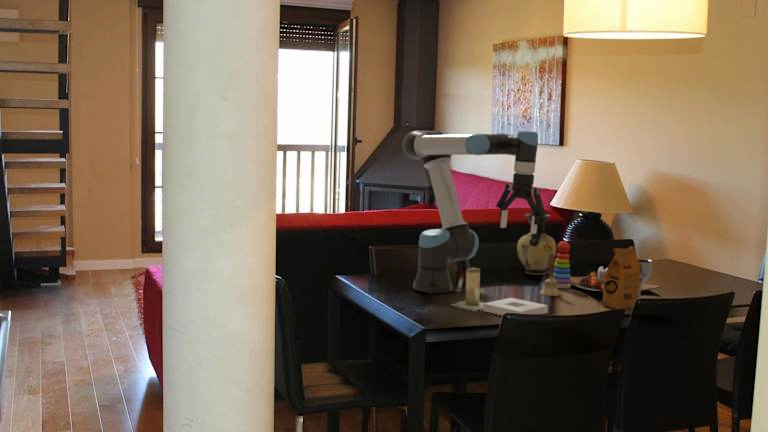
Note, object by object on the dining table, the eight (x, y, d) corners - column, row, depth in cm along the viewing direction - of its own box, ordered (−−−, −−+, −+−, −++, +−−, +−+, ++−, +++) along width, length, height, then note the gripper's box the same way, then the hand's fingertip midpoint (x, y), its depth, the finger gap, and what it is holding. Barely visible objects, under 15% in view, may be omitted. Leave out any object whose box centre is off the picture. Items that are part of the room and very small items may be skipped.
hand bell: (548, 296, 336) (550, 255, 334) (535, 292, 343) (537, 252, 341) (565, 295, 340) (567, 254, 338) (552, 291, 347) (554, 251, 345)
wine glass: (646, 302, 331) (649, 263, 330) (625, 299, 336) (628, 260, 334) (652, 298, 338) (654, 260, 336) (631, 295, 342) (634, 258, 341)
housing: (483, 311, 307) (483, 303, 306) (510, 305, 318) (510, 297, 318) (520, 320, 296) (520, 311, 295) (547, 313, 307) (547, 305, 307)
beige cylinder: (462, 304, 315) (463, 268, 314) (471, 302, 319) (471, 267, 317) (473, 306, 312) (474, 270, 310) (482, 304, 315) (482, 268, 314)
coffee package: (597, 305, 323) (601, 246, 321) (620, 302, 330) (624, 244, 328) (618, 310, 315) (622, 250, 313) (641, 307, 322) (645, 248, 320)
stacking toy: (570, 289, 351) (573, 243, 349) (550, 288, 352) (553, 242, 350) (570, 286, 359) (573, 240, 356) (551, 284, 360) (553, 239, 358)
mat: (448, 305, 315) (448, 304, 315) (469, 301, 324) (470, 299, 323) (474, 311, 307) (475, 310, 307) (495, 307, 315) (496, 305, 315)
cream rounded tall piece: (515, 268, 396) (519, 202, 392) (553, 270, 393) (557, 204, 390) (516, 275, 378) (519, 206, 375) (555, 277, 376) (559, 208, 372)
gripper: (558, 177, 315) (552, 235, 318) (502, 169, 332) (497, 224, 335) (547, 177, 309) (540, 236, 312) (490, 169, 327) (485, 225, 329)
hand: (518, 230), depth 324 cm, fingers open, 13 cm apart
